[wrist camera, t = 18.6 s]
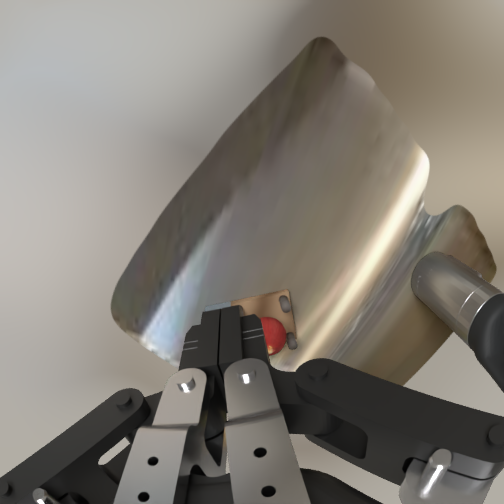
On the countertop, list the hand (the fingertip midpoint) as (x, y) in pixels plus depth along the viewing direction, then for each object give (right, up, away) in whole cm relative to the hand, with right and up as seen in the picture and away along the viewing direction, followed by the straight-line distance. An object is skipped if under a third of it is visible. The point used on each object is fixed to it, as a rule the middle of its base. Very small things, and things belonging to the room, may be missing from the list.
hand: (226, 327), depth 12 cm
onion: (+3, -8, +36) cm, 37 cm away
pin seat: (+1, -8, +37) cm, 38 cm away
